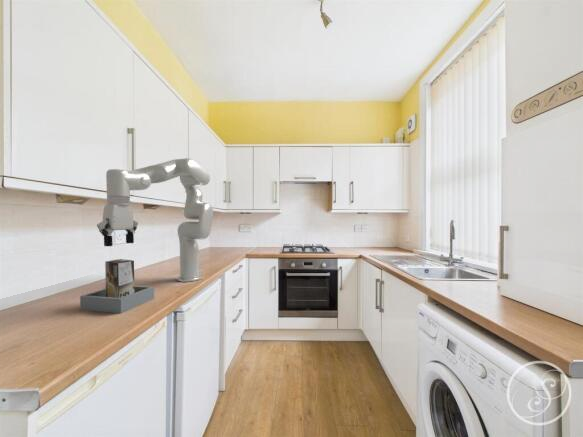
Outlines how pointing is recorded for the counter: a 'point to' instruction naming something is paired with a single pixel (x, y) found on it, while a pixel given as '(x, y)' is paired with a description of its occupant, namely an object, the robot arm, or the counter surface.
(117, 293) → the coffee box
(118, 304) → the box
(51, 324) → the counter surface
